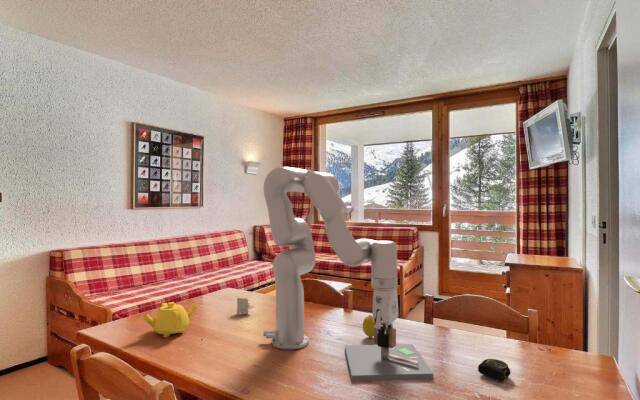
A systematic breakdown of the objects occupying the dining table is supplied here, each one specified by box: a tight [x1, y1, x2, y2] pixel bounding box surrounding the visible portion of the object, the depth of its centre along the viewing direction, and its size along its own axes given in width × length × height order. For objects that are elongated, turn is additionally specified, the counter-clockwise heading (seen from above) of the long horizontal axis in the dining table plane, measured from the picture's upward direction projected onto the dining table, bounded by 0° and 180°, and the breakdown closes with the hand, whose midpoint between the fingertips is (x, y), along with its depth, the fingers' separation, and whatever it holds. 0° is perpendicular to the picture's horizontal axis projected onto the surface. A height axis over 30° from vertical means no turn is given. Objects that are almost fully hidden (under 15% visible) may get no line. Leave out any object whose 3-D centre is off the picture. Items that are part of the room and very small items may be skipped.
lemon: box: [362, 314, 376, 339], centre depth 126 cm, size 6×6×8 cm
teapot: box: [141, 301, 198, 338], centre depth 133 cm, size 20×18×11 cm
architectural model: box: [236, 297, 255, 316], centre depth 155 cm, size 3×7×7 cm, turn 66°
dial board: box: [344, 343, 435, 382], centre depth 106 cm, size 22×20×2 cm
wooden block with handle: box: [373, 325, 418, 366], centre depth 104 cm, size 13×2×9 cm, turn 54°
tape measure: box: [477, 358, 511, 383], centre depth 98 cm, size 7×7×4 cm
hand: (385, 344), depth 106 cm, fingers closed on wooden block with handle, 2 cm apart
